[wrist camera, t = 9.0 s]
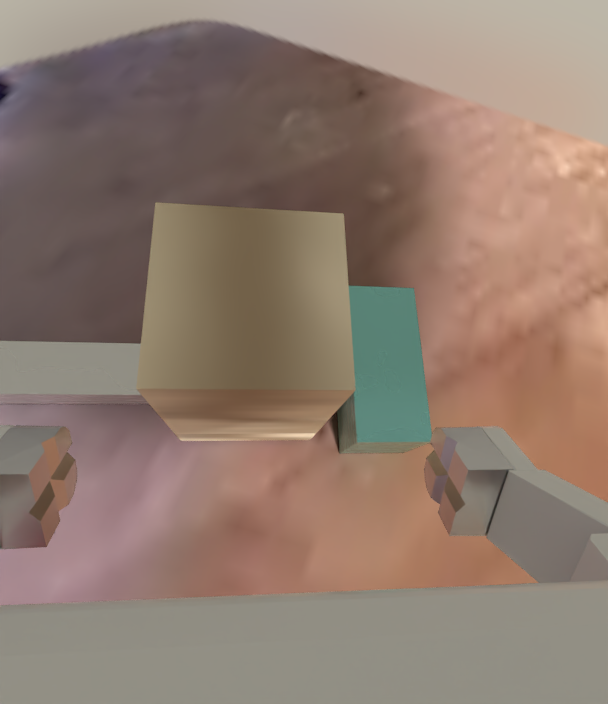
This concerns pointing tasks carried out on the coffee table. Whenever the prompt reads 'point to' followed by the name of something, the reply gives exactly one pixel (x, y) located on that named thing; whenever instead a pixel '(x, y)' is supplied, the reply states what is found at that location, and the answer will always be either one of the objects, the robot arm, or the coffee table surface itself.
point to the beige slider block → (246, 322)
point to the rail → (353, 416)
